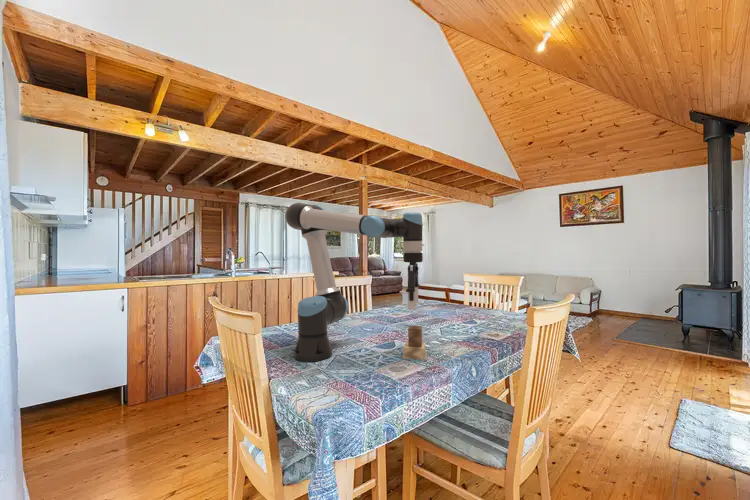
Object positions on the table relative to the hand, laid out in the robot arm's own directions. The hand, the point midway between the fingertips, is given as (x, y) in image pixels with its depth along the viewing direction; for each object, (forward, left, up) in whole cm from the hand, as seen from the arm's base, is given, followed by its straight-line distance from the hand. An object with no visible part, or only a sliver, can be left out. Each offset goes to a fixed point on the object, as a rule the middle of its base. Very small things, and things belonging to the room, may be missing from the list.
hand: (413, 306), depth 128 cm
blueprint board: (0, 0, -20) cm, 20 cm away
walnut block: (+1, 0, -15) cm, 15 cm away
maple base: (0, 0, -19) cm, 19 cm away
